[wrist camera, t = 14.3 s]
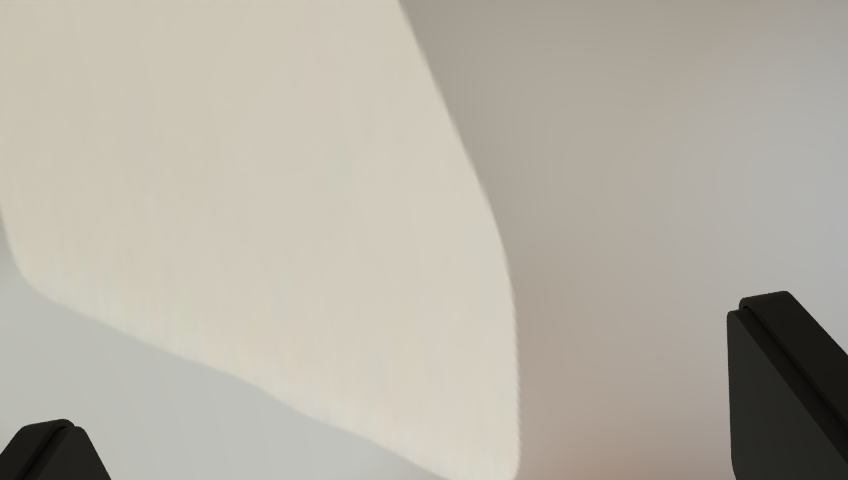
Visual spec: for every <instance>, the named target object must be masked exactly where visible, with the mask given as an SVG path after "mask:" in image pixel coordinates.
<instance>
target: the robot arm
mask: <svg viewBox="0 0 848 480" xmlns="http://www.w3.org/2000/svg"><path fill="white" fill-rule="evenodd" d="M727 343H728V371H729V401H730V402H729V403H730V432H731V459H732V466H733V471H734V474H735V477H736V480H848V355H847V354H846V353H845V352H844V350H842V348H841V347H840V346H839V345H838V344H837V343H836V342H835V341H834V340H833V339H832V338H831V336H830V335H829V334H828V333H827V332H826V331H825V330H824V329H823V328H822V327H821V326H820V325H819V324H818V322H817V321H816V320H815V319H814V318H813V317H812V316H811V315H810V314H809V313H808V312H807V311H806V310H805V309H804V308H803V306H802V305H801V304H800V303H799V302H798V301H797V300H796V299H795V298H794V297H793V296H792V295H791V294H790V293H789V292H788V291H779V292H774V293H768V294H763V295H757V296H752V297H746V298H742V299H741V300H740V303H739V310H734V311H730V312H728V315H727ZM0 480H111V478H110V476H109V475H108V473H107V471H106V469H105V467H104V465H103V463H102V461H101V459H100V458H99V456H98V454H97V452H96V450H95V448H94V446H93V444H92V442H91V441H90V439H89V437H88V435H87V433H86V432H85V430H84V429H82V428H81V427H77V426H74V424H73V423H72V422H70V421H69V420H66V419H58V420H53V421H48V422H42V423H36V424H30V425H27V426H24V427H22V428H21V429H20V430H19V431H18V432H17V433H16V435H15V436H14V437H13V438H12V440H11V441H10V443H9V444H8V445H7V447H6V448H5V449H4V450H3V452H2V453H1V454H0Z"/></svg>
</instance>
